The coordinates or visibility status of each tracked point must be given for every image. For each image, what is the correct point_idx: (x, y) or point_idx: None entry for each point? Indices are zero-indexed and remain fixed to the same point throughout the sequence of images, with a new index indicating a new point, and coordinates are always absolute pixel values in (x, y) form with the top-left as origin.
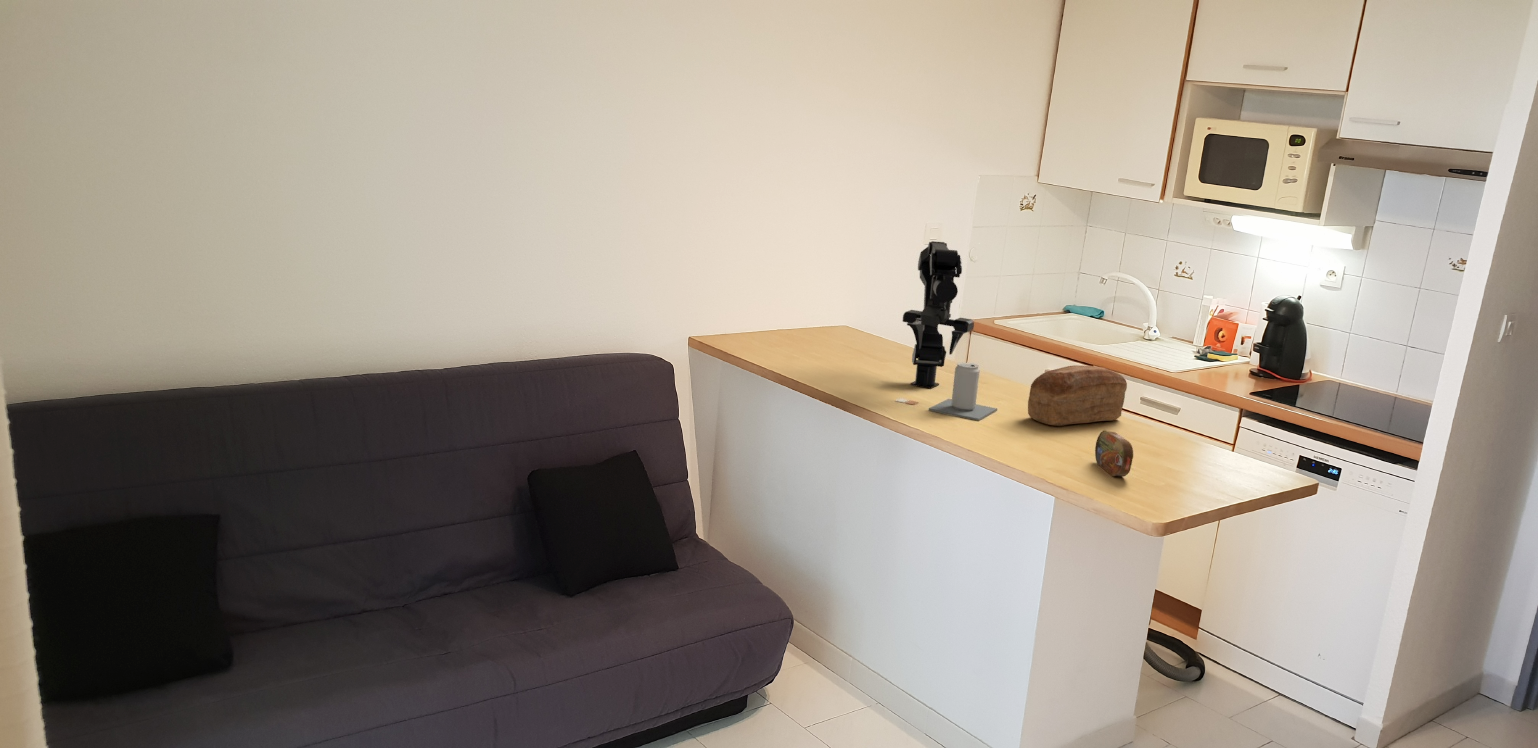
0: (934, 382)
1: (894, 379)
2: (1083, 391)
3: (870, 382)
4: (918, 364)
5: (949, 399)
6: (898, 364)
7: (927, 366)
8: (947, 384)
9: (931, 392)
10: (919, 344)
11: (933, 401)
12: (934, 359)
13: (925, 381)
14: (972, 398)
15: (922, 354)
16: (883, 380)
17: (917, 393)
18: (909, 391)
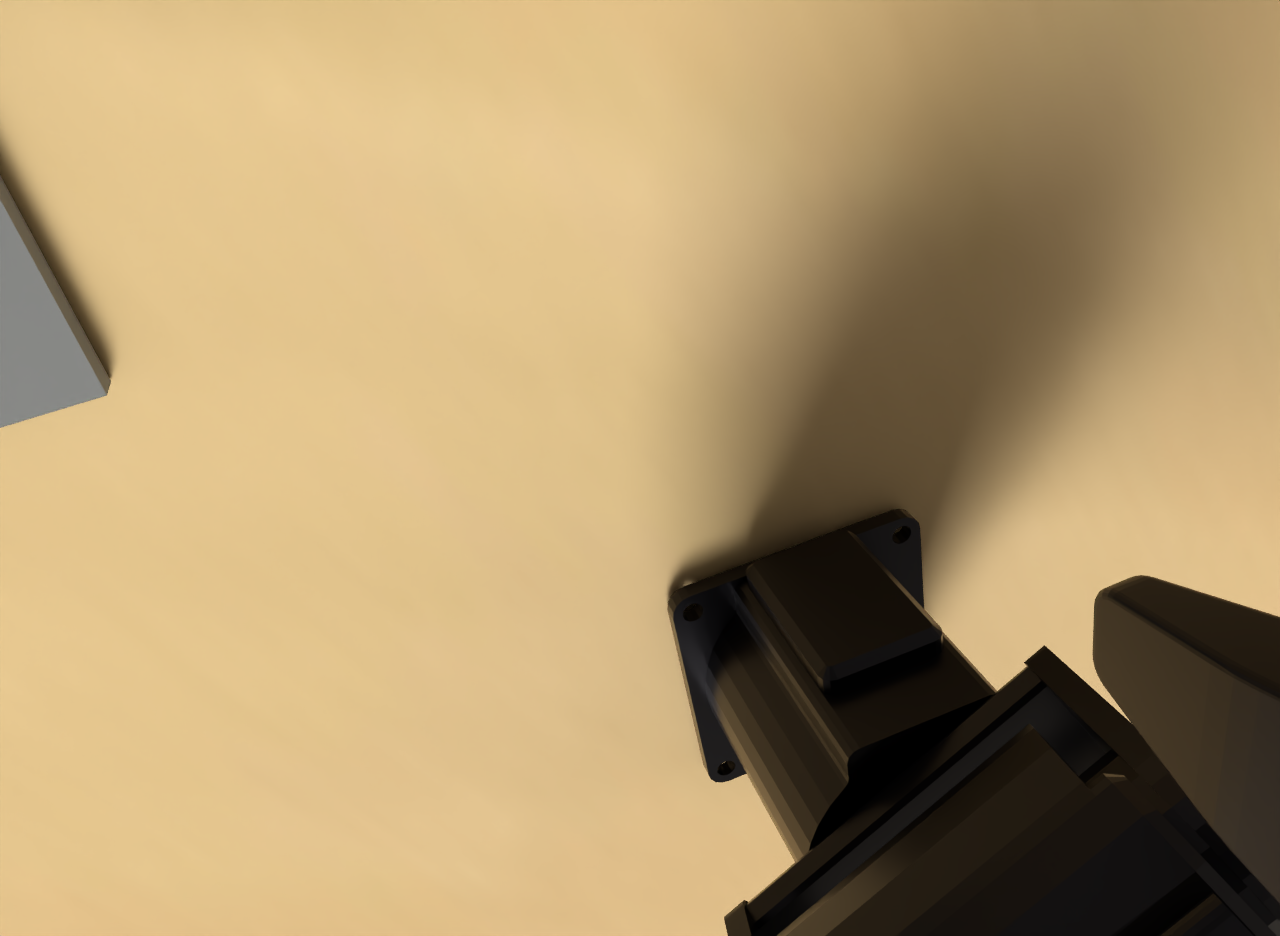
0: (719, 719)
1: (1116, 517)
2: None
3: (1271, 160)
4: (993, 701)
5: (53, 371)
6: None
7: (872, 765)
8: (679, 859)
9: (568, 498)
10: (1215, 679)
11: (181, 125)
12: (833, 898)
13: (767, 609)
14: None
15: (1035, 804)
16: (1186, 378)
17: (639, 287)
18: (762, 268)
